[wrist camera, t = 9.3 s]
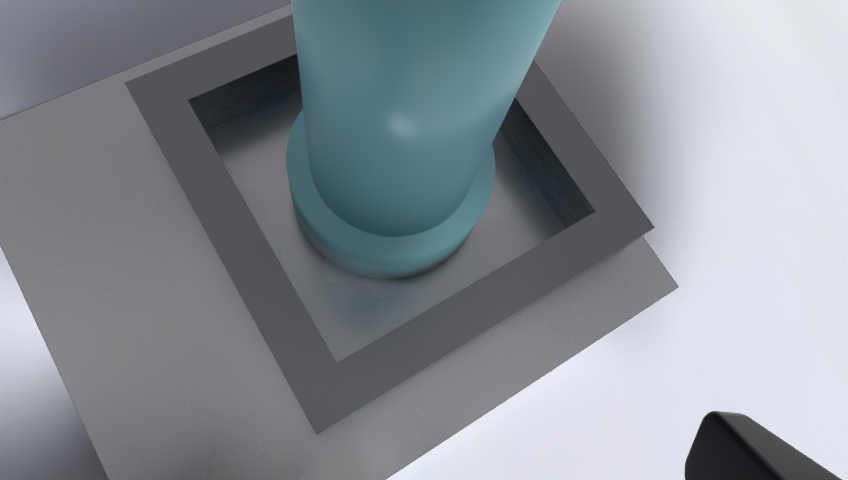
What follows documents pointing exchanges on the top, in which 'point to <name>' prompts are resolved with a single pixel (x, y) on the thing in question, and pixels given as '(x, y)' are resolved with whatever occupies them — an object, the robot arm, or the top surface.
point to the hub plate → (292, 274)
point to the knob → (403, 123)
